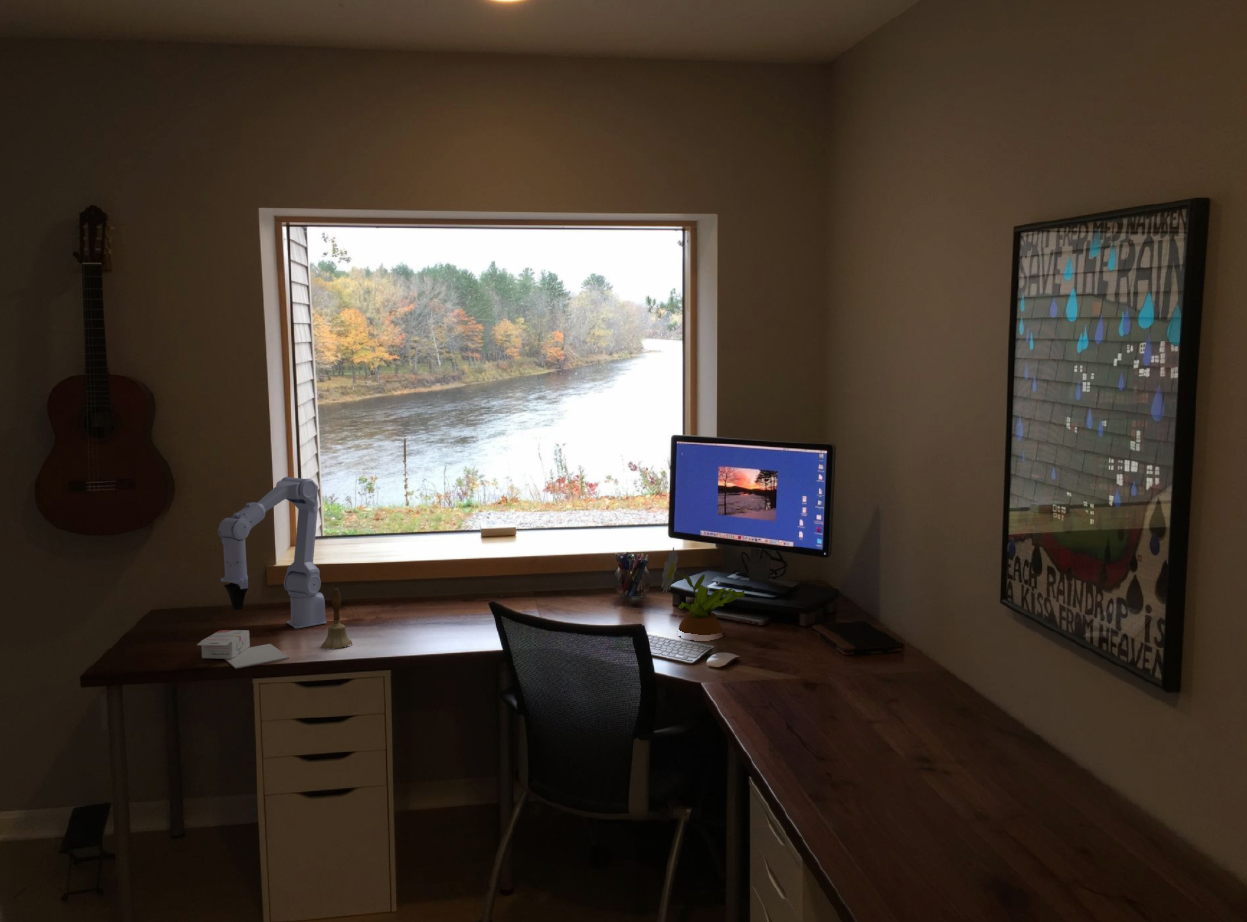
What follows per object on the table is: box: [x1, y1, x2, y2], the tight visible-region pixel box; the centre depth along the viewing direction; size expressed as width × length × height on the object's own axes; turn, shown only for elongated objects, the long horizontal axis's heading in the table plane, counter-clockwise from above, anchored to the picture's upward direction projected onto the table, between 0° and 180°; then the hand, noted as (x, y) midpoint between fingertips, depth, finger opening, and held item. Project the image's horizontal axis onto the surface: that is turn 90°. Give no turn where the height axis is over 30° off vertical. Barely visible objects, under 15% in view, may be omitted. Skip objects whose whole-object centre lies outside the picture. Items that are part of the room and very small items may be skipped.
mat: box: [224, 643, 290, 670], centre depth 283 cm, size 14×15×1 cm
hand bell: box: [321, 588, 353, 650], centre depth 292 cm, size 8×8×16 cm
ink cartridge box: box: [196, 629, 251, 660], centre depth 283 cm, size 9×5×15 cm
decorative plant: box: [660, 547, 746, 635], centre depth 298 cm, size 27×24×25 cm
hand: (237, 609), depth 292 cm, fingers closed
